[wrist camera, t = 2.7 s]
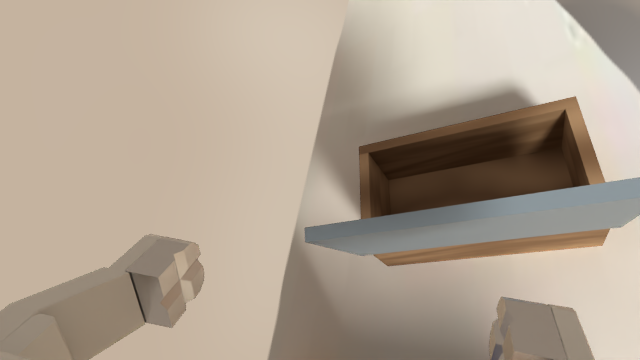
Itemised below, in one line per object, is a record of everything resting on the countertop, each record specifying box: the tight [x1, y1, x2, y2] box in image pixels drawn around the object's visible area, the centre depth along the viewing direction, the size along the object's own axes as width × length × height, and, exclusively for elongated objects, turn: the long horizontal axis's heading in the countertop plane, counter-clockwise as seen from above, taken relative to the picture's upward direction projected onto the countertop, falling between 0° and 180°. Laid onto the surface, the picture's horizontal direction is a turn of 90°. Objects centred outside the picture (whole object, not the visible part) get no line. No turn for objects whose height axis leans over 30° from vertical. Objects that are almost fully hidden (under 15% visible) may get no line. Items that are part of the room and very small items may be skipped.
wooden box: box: [359, 96, 610, 266], centre depth 38 cm, size 11×20×8 cm, turn 90°
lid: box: [305, 177, 640, 256], centre depth 28 cm, size 11×20×1 cm
